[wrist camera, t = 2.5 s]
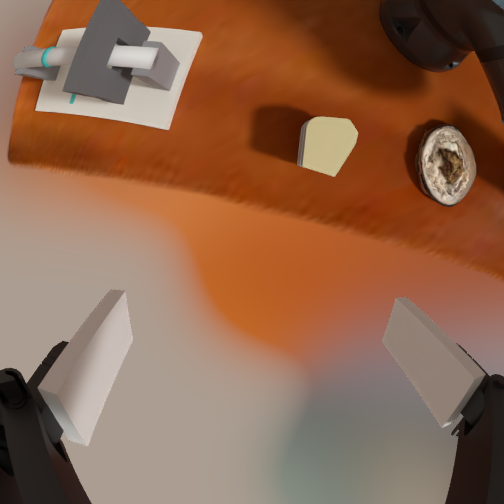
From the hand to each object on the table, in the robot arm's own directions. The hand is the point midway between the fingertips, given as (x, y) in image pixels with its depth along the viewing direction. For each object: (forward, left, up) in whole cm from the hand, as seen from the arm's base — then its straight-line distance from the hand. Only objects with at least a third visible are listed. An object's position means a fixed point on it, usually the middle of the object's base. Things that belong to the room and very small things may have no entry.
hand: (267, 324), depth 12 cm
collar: (-14, -20, -21) cm, 32 cm away
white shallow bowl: (-17, +25, -26) cm, 40 cm away
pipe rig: (-14, -26, -25) cm, 39 cm away
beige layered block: (-11, +5, -26) cm, 28 cm away
